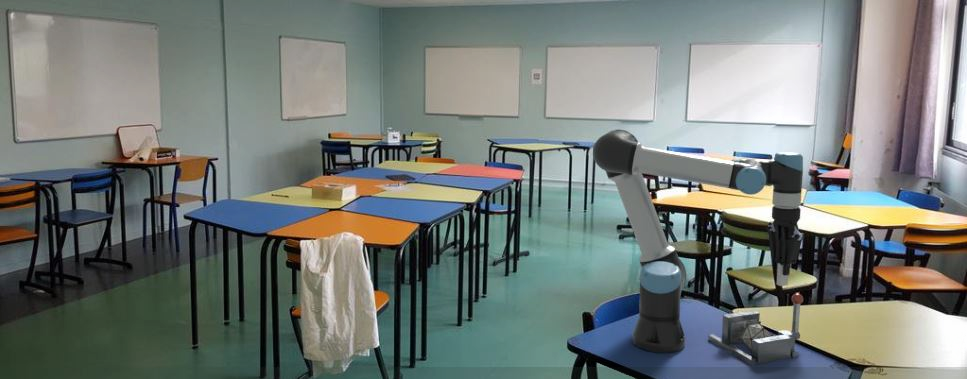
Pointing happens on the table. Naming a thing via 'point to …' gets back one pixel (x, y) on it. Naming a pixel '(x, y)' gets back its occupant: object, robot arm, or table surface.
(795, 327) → the lever
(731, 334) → the jaw
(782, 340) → the vise body
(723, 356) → the table surface
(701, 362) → the table surface
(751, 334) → the game die
